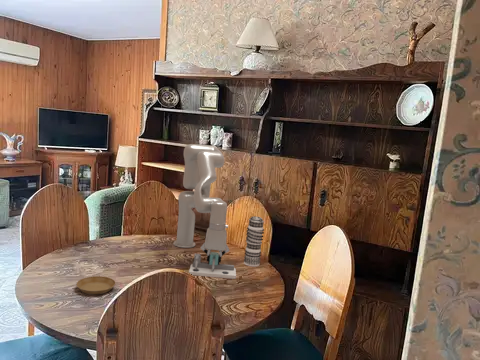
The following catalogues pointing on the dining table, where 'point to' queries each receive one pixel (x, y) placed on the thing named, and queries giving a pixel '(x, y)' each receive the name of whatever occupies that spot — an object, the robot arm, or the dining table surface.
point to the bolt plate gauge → (206, 269)
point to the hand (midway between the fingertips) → (213, 262)
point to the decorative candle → (254, 241)
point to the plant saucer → (95, 285)
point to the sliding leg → (213, 259)
